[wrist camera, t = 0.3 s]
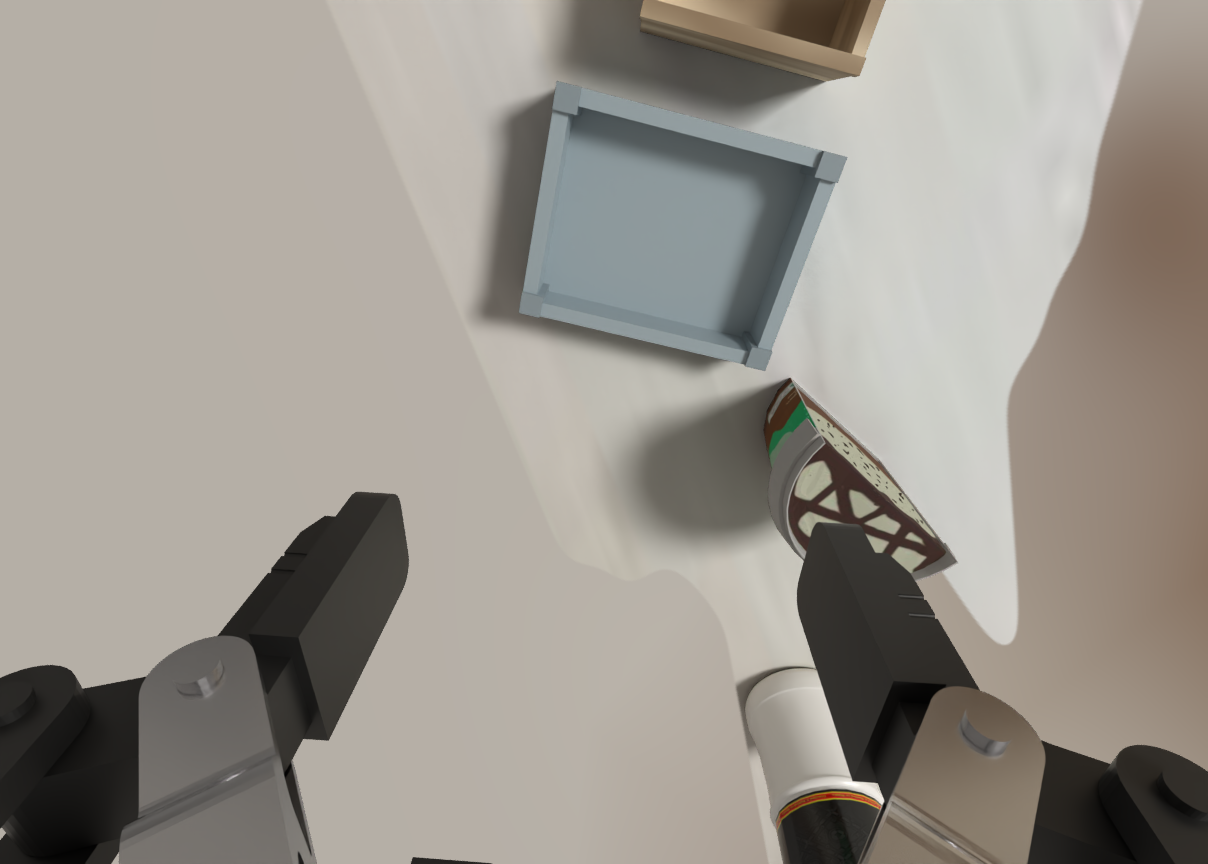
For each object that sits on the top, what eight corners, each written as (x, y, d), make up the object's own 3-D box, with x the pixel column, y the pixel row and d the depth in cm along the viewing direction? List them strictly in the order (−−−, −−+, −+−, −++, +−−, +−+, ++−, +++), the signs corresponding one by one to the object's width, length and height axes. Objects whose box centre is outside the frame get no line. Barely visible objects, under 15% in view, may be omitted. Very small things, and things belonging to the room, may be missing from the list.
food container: (706, 426, 40) (726, 511, 32) (774, 363, 38) (817, 436, 29) (824, 525, 44) (872, 627, 35) (893, 472, 41) (964, 567, 33)
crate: (565, 85, 31) (556, 80, 28) (825, 153, 32) (847, 157, 29) (529, 295, 37) (518, 312, 33) (753, 349, 38) (765, 371, 34)
